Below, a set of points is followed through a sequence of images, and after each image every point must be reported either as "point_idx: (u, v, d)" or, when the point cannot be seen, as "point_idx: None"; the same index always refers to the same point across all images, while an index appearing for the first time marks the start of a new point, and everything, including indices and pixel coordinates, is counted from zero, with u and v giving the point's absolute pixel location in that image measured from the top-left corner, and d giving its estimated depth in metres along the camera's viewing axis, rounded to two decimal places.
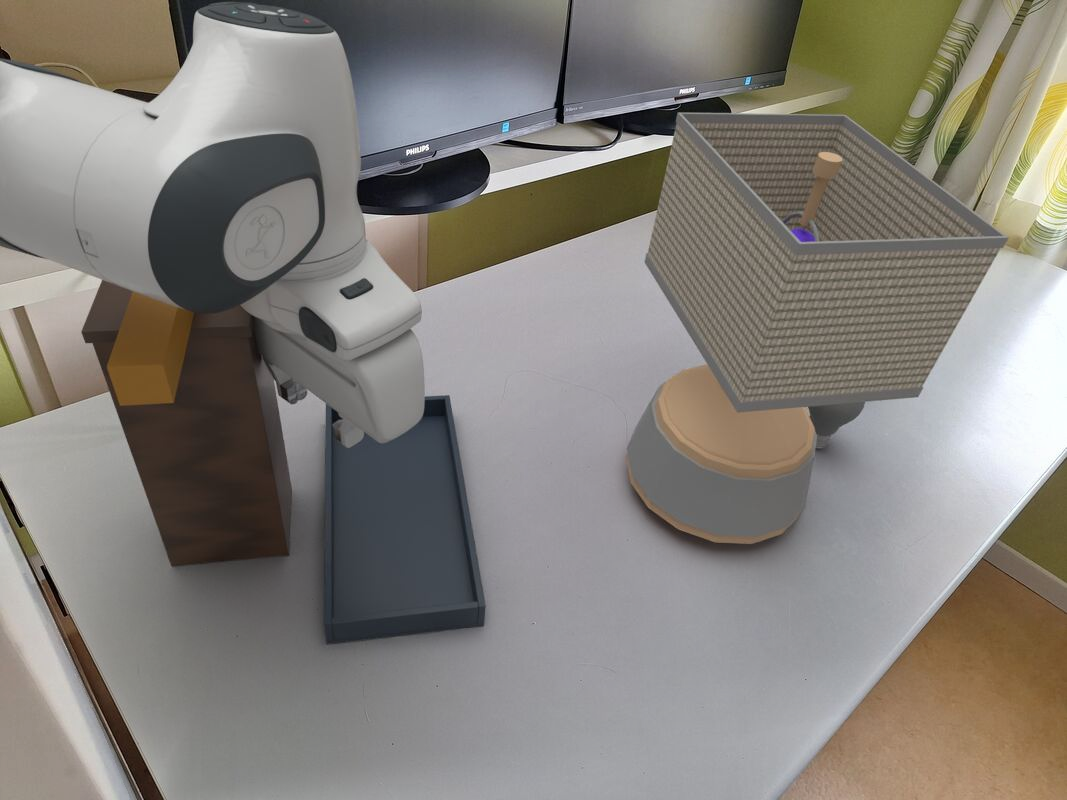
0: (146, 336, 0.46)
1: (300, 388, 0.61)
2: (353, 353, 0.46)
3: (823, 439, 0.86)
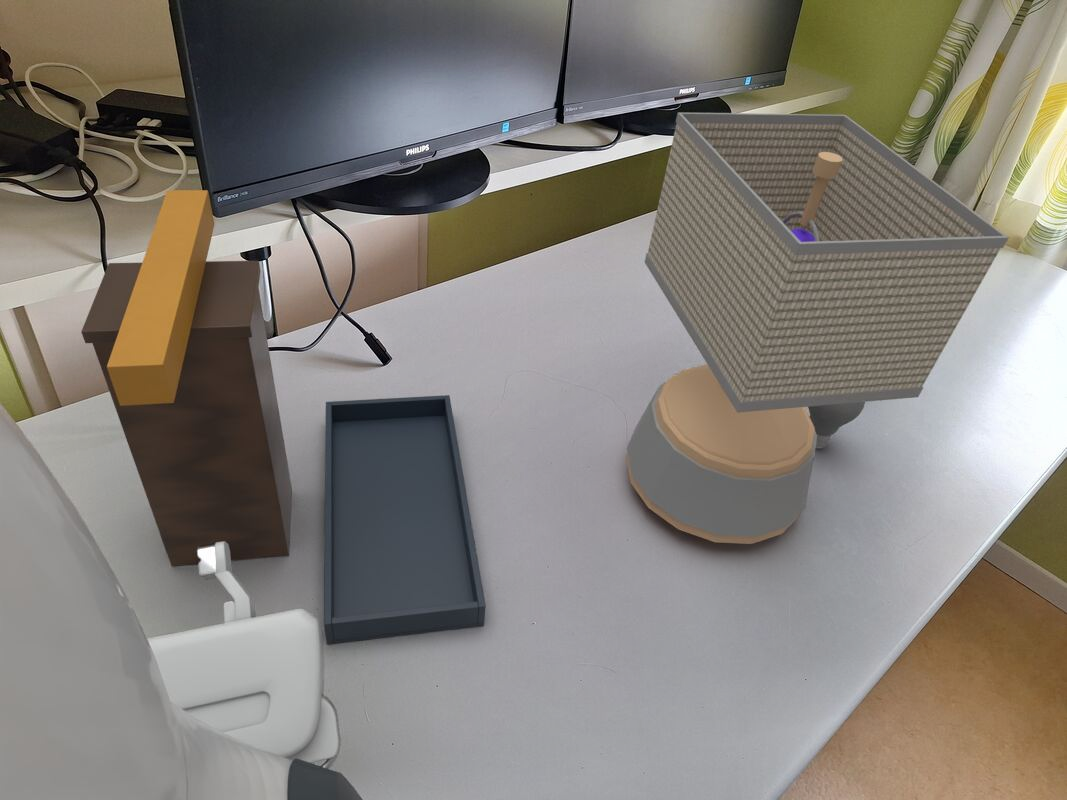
0: (146, 336, 0.46)
1: None
2: None
3: (823, 439, 0.86)
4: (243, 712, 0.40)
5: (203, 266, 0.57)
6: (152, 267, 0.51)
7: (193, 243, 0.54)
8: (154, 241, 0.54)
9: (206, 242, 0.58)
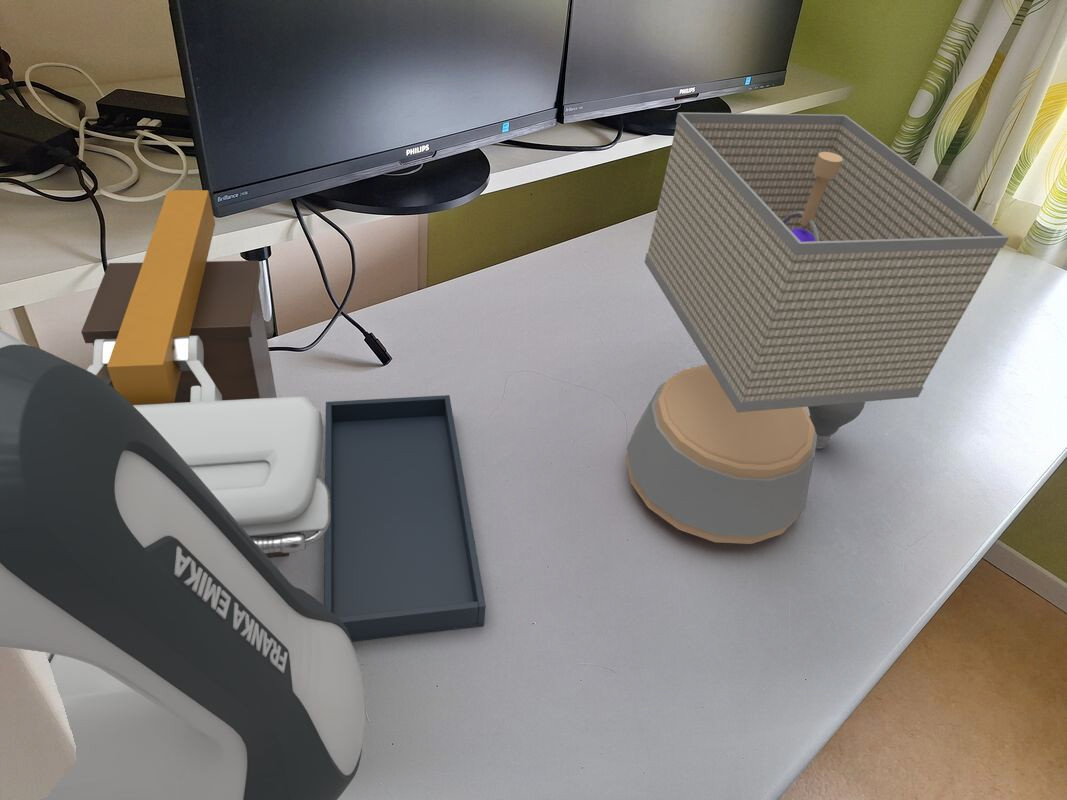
0: (146, 336, 0.46)
1: None
2: None
3: (823, 439, 0.86)
4: (244, 476, 0.44)
5: (203, 266, 0.57)
6: (153, 267, 0.51)
7: (193, 243, 0.54)
8: (154, 241, 0.54)
9: (207, 242, 0.58)
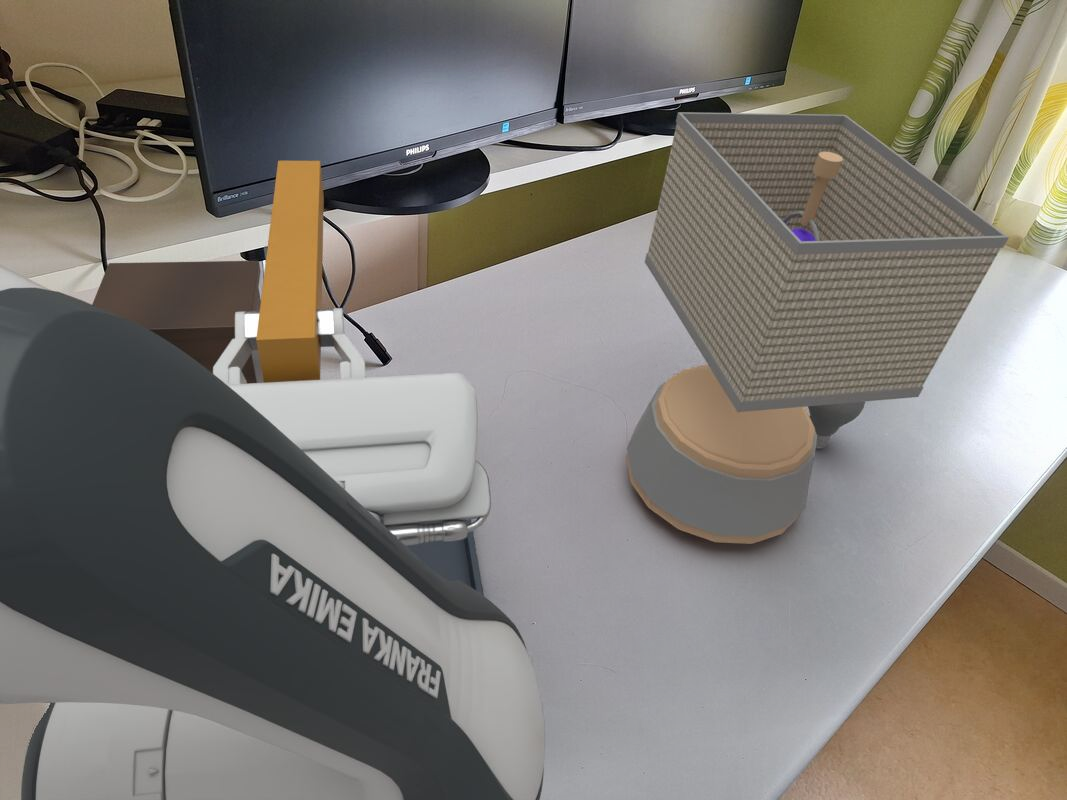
0: (291, 308, 0.42)
1: None
2: None
3: (823, 439, 0.86)
4: (404, 458, 0.41)
5: (322, 239, 0.53)
6: (281, 237, 0.48)
7: (317, 213, 0.51)
8: (276, 211, 0.50)
9: (322, 215, 0.55)
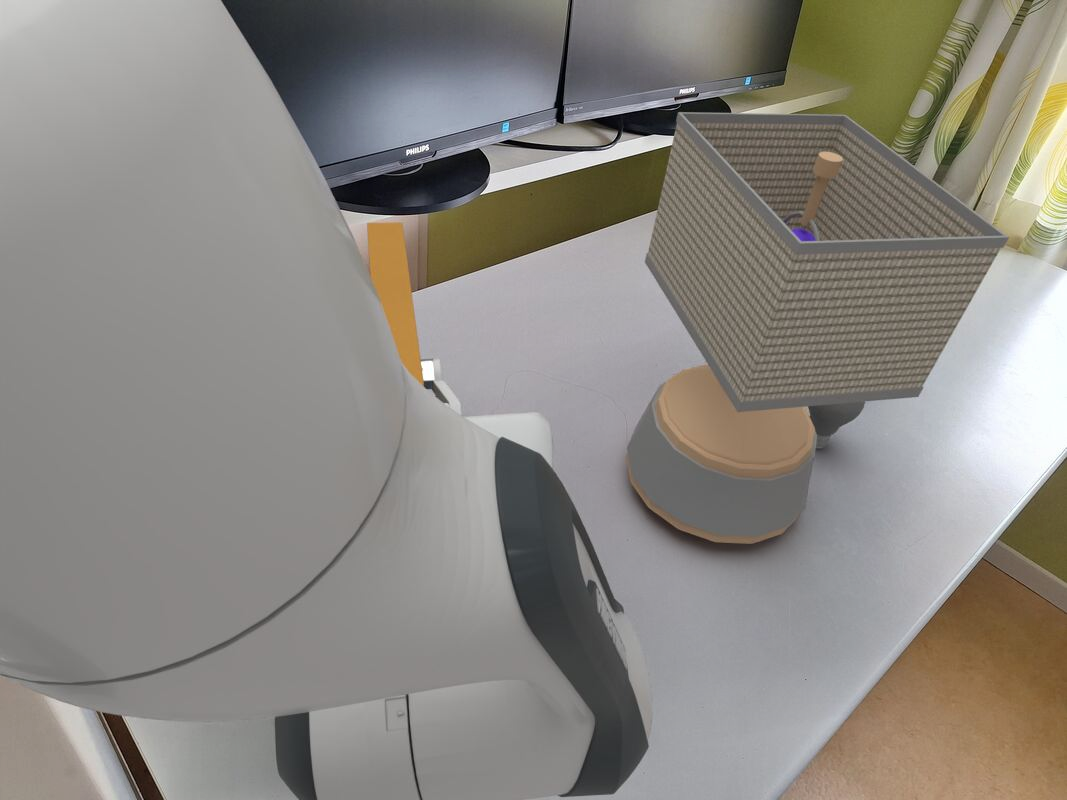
0: None
1: None
2: None
3: (823, 439, 0.86)
4: None
5: None
6: (382, 295, 0.57)
7: (408, 273, 0.60)
8: (374, 271, 0.60)
9: None
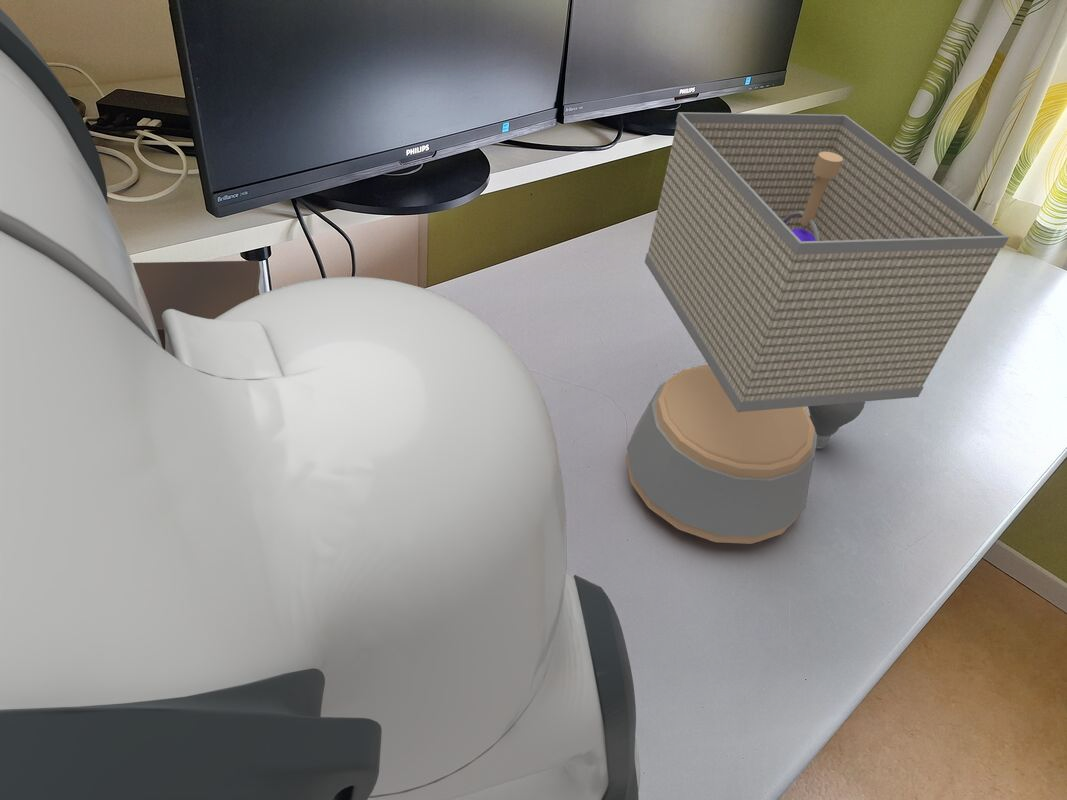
0: None
1: None
2: None
3: (823, 439, 0.86)
4: None
5: None
6: None
7: None
8: None
9: None
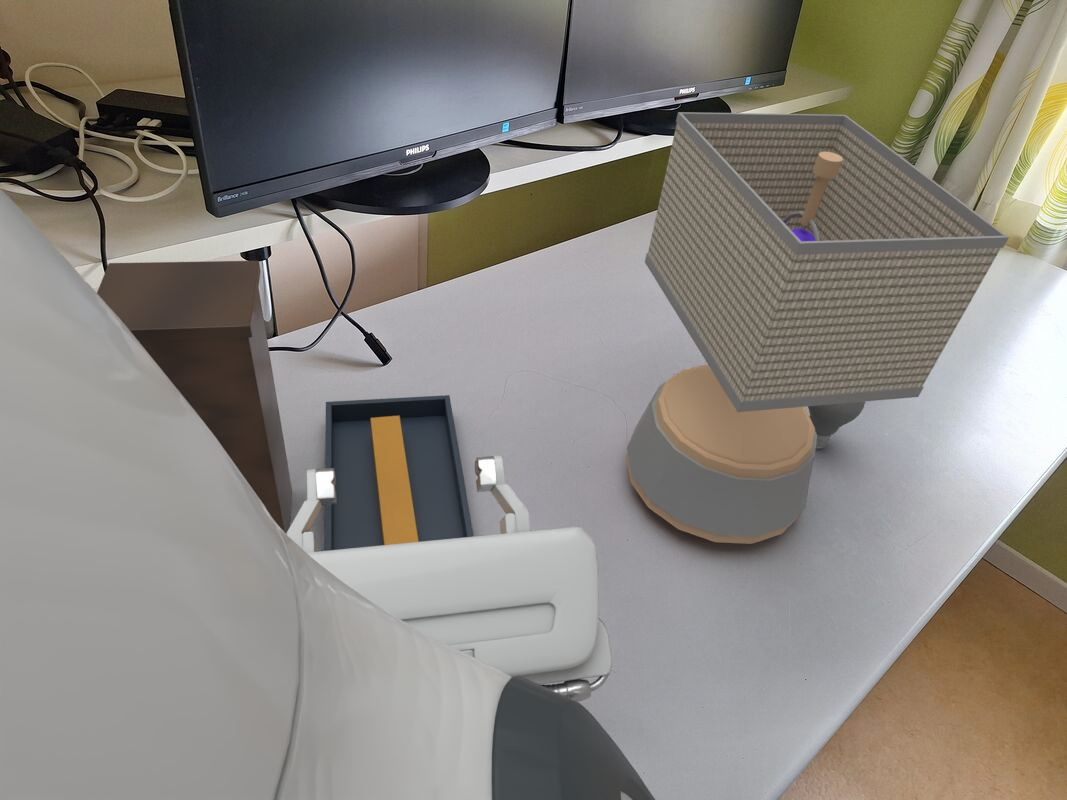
0: None
1: (477, 479, 0.44)
2: None
3: (823, 439, 0.86)
4: (529, 621, 0.40)
5: None
6: (387, 498, 0.71)
7: (407, 472, 0.74)
8: (379, 472, 0.73)
9: None
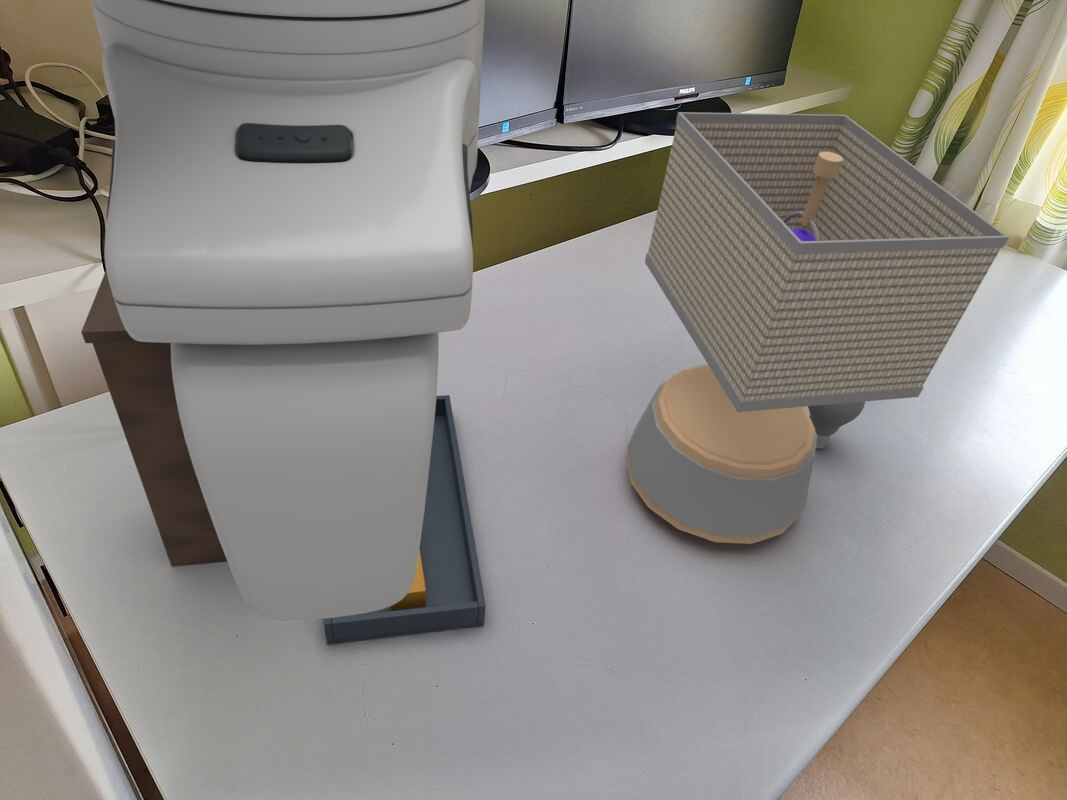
0: None
1: None
2: (138, 322, 0.13)
3: (823, 439, 0.86)
4: None
5: None
6: None
7: None
8: None
9: None
